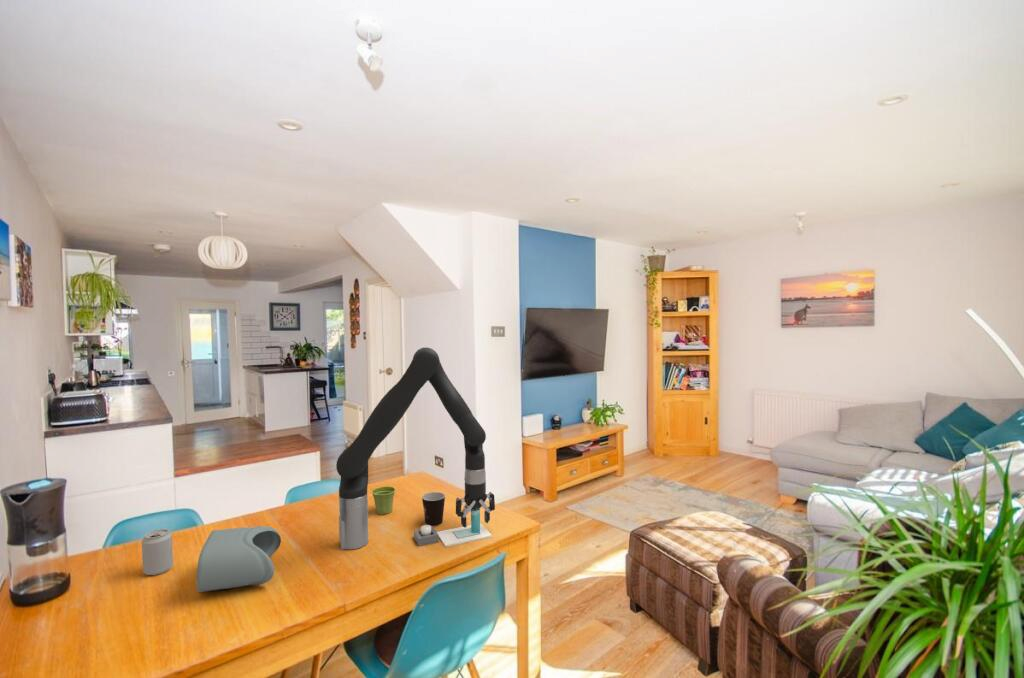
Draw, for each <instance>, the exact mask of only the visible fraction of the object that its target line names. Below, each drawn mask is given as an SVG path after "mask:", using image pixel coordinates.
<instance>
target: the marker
mask: <svg viewBox="0 0 1024 678" xmlns="http://www.w3.org/2000/svg"><path fill="white" fill-rule="evenodd" d="M480 523H481V508H476V509H471V510H470V525H471V532H472V533H479V532H480Z"/></svg>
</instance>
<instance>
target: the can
mask: <svg viewBox="0 0 1024 678" xmlns="http://www.w3.org/2000/svg"><path fill="white" fill-rule="evenodd" d="M173 551H174V550H173V534H172V533H171V532H170V530H169V529H168V528H158V529H155V530H151V531H148V532H147V533H145V534H144V535H143V539H142V540H141V553H142V554H141V556H142V558H141V559H142V573H143V574H145V575H147V576H149V575H154V576H158V575H157V574H159V575H162V574H164V573H166V572H168V571H169V570H170V569H171V568H172V567H173V566H174V553H173ZM167 570H168V571H167ZM161 573H162V574H161Z"/></svg>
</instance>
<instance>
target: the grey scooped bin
mask: <svg viewBox="0 0 1024 678" xmlns="http://www.w3.org/2000/svg"><path fill="white" fill-rule="evenodd" d="M281 543H282V538H281V534H280V533H279V532H278V531H277V529H275V528H274V527H273V526H268V525H264V526H263V525H262V526H252V527H251V526H249V527H247V526H246V527H236V528H223V529H214V530H212V531H211V532H210V534H209V535H208V537H207V538H206V541H205V542H204V545H203V546H202V549H201V550H200V553H199V556H198V561H197V568H196V569H197V570H196V590H197V592H198V593H203V592H209V591H211V592H212V591H218V590H224V589H232V588H240V587H246V586H259V585H264V584H266V583H268V582H269V581H271V580H272V579H273V577H274V574H275V566H274V565H275V564H274V563H273V560H272V559H271V556H272V555H274V554H275V553H276V552H277V551H278V550H279V548H280V546H281Z"/></svg>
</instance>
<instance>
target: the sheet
mask: <svg viewBox="0 0 1024 678" xmlns="http://www.w3.org/2000/svg"><path fill="white" fill-rule="evenodd" d="M436 532H437V533H438V535H439V541H441V543H442V545H444V546H443V547H445V548H446V547H452V546H457V545H461V544H466V543H469V542H475V541H479V540H484V539H489V538H493V535H492V534H491V533H490V532H489V530H488V529H487V527H485V526H484V524H482V523H481V522H480V532H479V533H472V532H471V524H470V525H469V524H468V525H466V527H465V528H464V527H463V526H460V527H455V528H449V529H444V530H440V531H436Z"/></svg>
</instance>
